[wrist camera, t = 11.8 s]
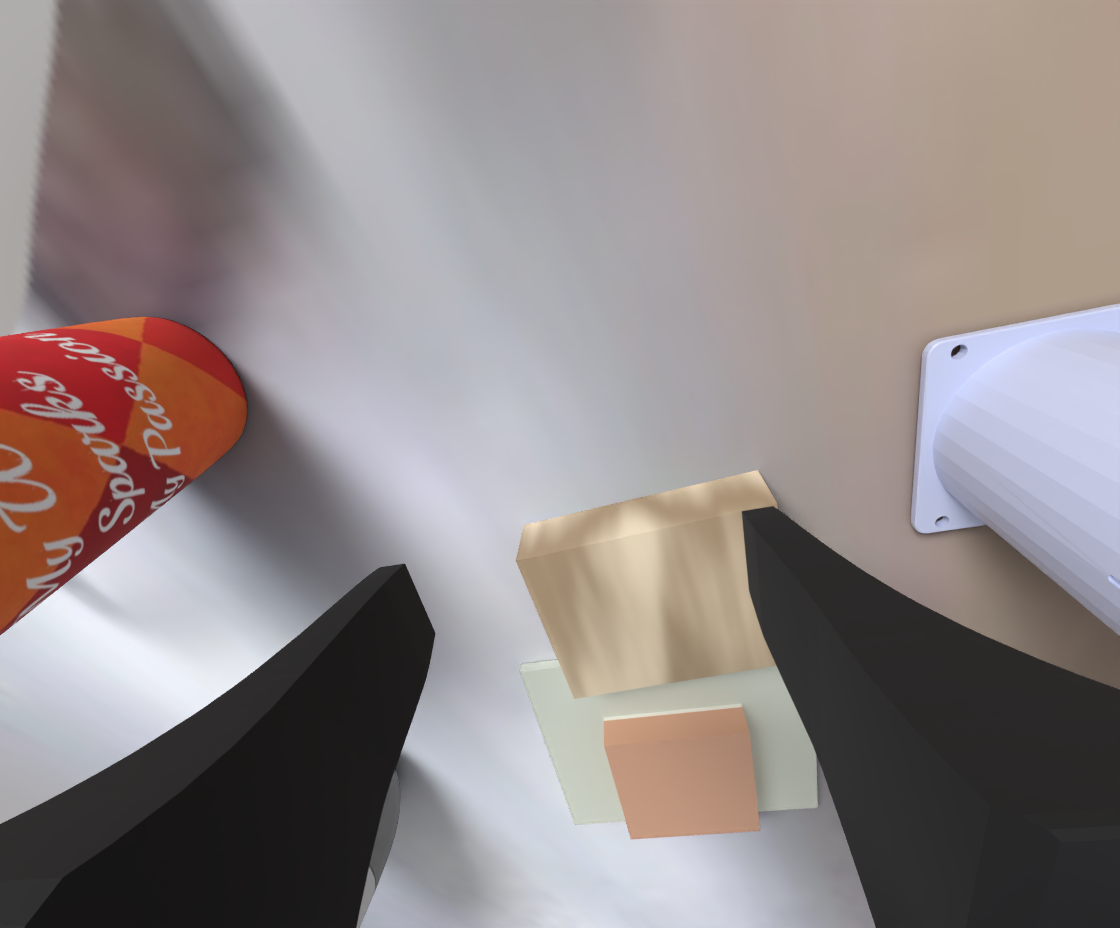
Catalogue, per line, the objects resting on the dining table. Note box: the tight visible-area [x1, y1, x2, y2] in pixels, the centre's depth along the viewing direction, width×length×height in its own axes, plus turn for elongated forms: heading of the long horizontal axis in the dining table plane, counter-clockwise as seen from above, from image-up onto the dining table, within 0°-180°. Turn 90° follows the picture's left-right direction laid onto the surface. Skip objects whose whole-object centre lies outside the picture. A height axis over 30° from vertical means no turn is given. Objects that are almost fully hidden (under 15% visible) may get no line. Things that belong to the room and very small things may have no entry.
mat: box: [520, 660, 818, 825], centre depth 28 cm, size 14×13×1 cm
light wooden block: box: [516, 470, 778, 699], centre depth 23 cm, size 3×8×10 cm
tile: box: [604, 704, 760, 839], centre depth 28 cm, size 7×2×8 cm
